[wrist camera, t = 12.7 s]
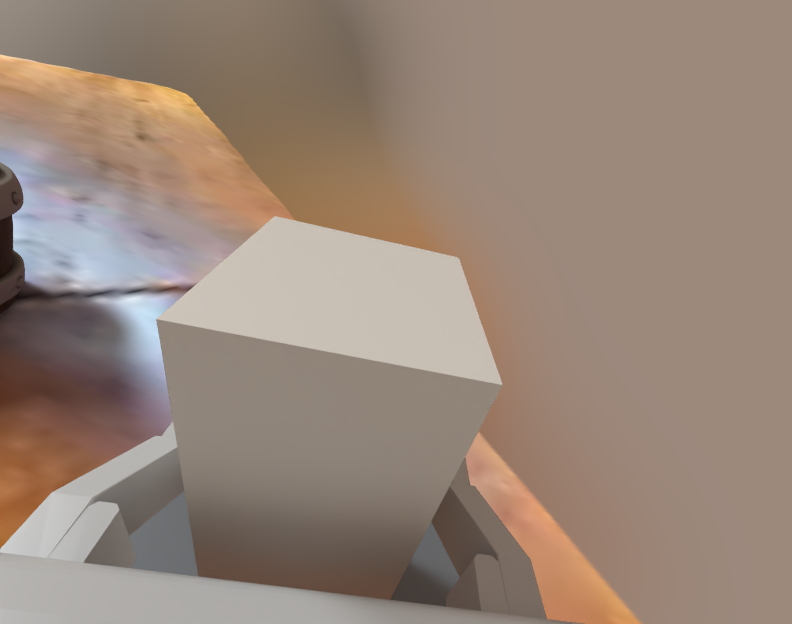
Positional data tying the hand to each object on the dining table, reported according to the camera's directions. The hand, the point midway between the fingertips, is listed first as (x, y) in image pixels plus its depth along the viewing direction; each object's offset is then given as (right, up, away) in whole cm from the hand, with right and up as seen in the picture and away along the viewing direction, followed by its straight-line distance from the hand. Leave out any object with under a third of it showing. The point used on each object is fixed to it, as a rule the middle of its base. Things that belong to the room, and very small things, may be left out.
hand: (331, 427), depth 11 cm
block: (-2, -7, +3) cm, 8 cm away
